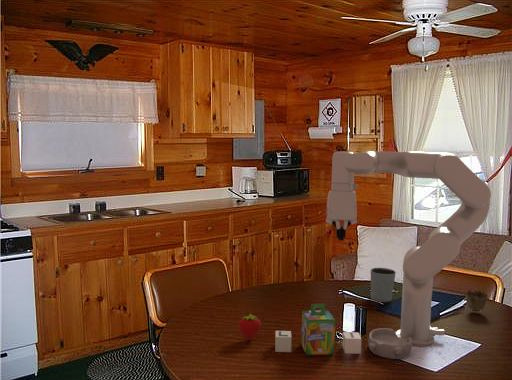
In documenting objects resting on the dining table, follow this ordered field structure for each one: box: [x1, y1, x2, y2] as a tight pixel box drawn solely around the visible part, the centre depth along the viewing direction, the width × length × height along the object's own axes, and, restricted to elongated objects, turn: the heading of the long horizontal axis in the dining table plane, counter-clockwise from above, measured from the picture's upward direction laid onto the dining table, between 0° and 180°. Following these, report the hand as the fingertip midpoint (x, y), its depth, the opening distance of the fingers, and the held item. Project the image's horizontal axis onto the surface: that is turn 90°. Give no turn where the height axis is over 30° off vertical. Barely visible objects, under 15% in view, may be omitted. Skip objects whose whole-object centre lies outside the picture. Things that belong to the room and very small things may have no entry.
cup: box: [466, 290, 488, 315], centre depth 201 cm, size 8×7×8 cm
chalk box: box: [300, 303, 336, 356], centre depth 166 cm, size 9×9×15 cm
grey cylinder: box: [370, 267, 397, 303], centre depth 217 cm, size 10×10×12 cm
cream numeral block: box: [342, 331, 362, 355], centre depth 167 cm, size 5×5×5 cm
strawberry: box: [238, 312, 262, 341], centre depth 173 cm, size 6×8×10 cm
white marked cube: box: [274, 330, 292, 353], centre depth 167 cm, size 5×5×5 cm
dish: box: [367, 327, 413, 360], centre depth 167 cm, size 14×14×5 cm
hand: (340, 239), depth 181 cm, fingers closed
